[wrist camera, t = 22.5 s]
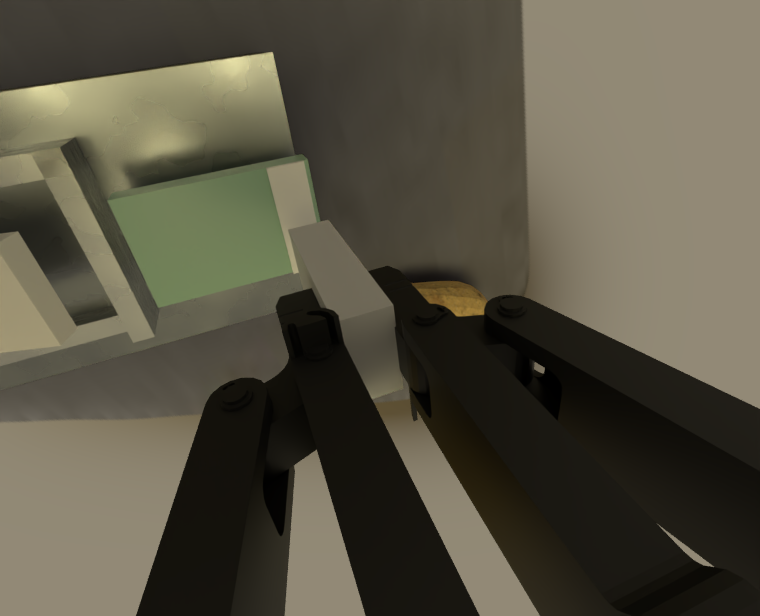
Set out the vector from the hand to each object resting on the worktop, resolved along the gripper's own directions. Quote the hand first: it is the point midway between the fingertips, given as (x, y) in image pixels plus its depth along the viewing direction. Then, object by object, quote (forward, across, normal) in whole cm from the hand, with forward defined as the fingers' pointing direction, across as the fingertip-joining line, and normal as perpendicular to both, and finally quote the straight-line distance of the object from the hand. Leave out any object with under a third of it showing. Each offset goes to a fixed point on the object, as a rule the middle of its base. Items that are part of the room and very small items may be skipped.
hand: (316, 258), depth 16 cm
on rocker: (+5, -3, 0) cm, 6 cm away
